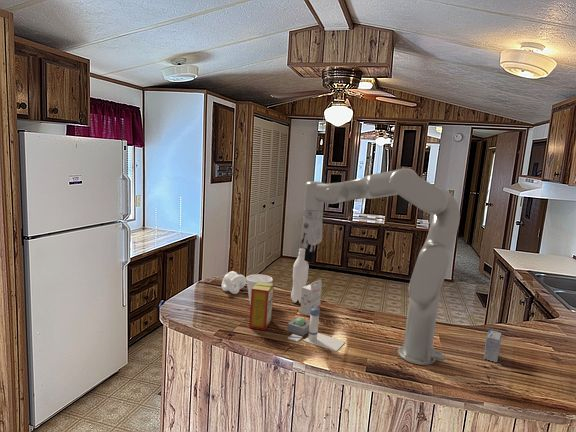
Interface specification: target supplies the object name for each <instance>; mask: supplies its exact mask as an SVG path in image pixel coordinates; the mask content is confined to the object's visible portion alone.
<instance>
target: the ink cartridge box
mask: <svg viewBox="0 0 576 432" xmlns="http://www.w3.org/2000/svg"><path fill="white" fill-rule="evenodd" d="M322 281H323V280H322V279H317V280H315V281H313V282H311V283H310V284H306V286H304V287H302V296H301V303H300V311H299V313H300V314H302V315H305V316H308V317H310V310H311V308H319V309H320V308H321V301H322V300H321V297H322V288H323V287H322V286H323V285H322ZM320 310H321V309H320Z"/></svg>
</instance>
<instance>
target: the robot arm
mask: <svg viewBox="0 0 576 432" xmlns="http://www.w3.org/2000/svg"><path fill="white" fill-rule="evenodd" d="M304 186H305V187H304V199H303V211H302V218H303V220H302V224H301V233H300V243H301V244H302V249H305V258H304V260H305V261H307V262H308V263H312V262H314V259H315V251H316V245H318V244H320V243H322V241H323V228H324V227H323V226H324V225H323V217H324V216H323V215H324V206H325V203H326V204H328V205H330V204H331V205H333V204H339V203H342V202H348V201H353V200H362V199H368V200H370V199H371V200H372V199H373V200H374V199H379V198H385V197H390V196H391V197H393V196H397V195H398V196H400V197H401V198H402V199H404V200H406V201H407V202H409V203H410V204H412V205H414V206H415V207H416V208H418V209H419V210H420V211H422V212H425V213H426V214H429V215H432V219H431V222H430V226H429V230H428V233H427V237H426V239H425V242H424V243H423V246H422V247H421V248H420V251H419V253H418V255H417V258H416V261H415V264H414V268H413V271H412V274H411V277H410V280H409V284H408V287H407V288H408V289H407V290H408V294H409V299H408V305H407V306H408V307H407V314H406V321H405V322H406V323H405V332H404V337H403V338H404V339H403V345H401V346H400V347H399V348H397V349H398V350H397V352H398V356H399V357H400V359H402V360H404V361H406V362H409V363H410V364H414V365H419V366H429V365H432V364H434V363H435V362H436V359H437V360H439V361H443V362H445V359H446V355H445V354H443V351H440V350H436V349H435V345H434V338H435V337H434V335H435V329H436V321H437V316H438V310H439V309H438V307H439V301H440V295H441V290H442V287H443V284H444V281H445V279H446V278H445V277H446V275H447V272H448V270H449V265H450V262H451V254H452V249H453V246H454V242H455V240H456V237H457V233H458V230H459V225H460V220H461V214H460V213H461V212H460V208H459V204H458V202H457V200H456V199H455V197H454V196H453V195H452V194H451V193H450V192H449V191H448V190H447V189H445V188H444V187H442V186H441V187H440V186H435V185H434V184H432V183H430V182H429V181H427V180H426V179H425V178H422V177H421V176H419V175H418V174H417V172H416V171H415V170H413V169H412V168H408V167H407V168H406V167H403V168H398V169H395V170H389V171H384V172H378V173H372V174H368V175H365V176H363V177H361V178H356V179H352V180H345V181H341V182H339V181H338V182H332V183H331V182H330V183H324V182H321V181H314V180H312V181H307V182H306V183H305V185H304Z"/></svg>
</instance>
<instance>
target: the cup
mask: <svg viewBox="0 0 576 432" xmlns="http://www.w3.org/2000/svg"><path fill="white" fill-rule="evenodd" d="M245 278H246V285H247V293H248V300H249V306H250V305H251V291H252V288H253V287H254V286H255V285H256V283H257V282H265V283H273V280H274V278H272V276H269V275H267V274H259V273H256V274H250V275H247V276H245Z"/></svg>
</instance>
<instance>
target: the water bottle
mask: <svg viewBox="0 0 576 432" xmlns="http://www.w3.org/2000/svg"><path fill="white" fill-rule="evenodd" d="M297 254H298V255H297V258H296V260H295V261H294V263H293V266H292V268H293V269H292V290H291V293H290V298H291V300H292V302H293V303H297V302H298V303H299V304H301V296H302V287H304V286H307V283H308V282H307V281H308V280H309V278H308V277H309V276H308V275H309V268H310V267H309V262H308V261H305V260H304V258H305V248H303V247H302V248H298V253H297Z"/></svg>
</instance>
